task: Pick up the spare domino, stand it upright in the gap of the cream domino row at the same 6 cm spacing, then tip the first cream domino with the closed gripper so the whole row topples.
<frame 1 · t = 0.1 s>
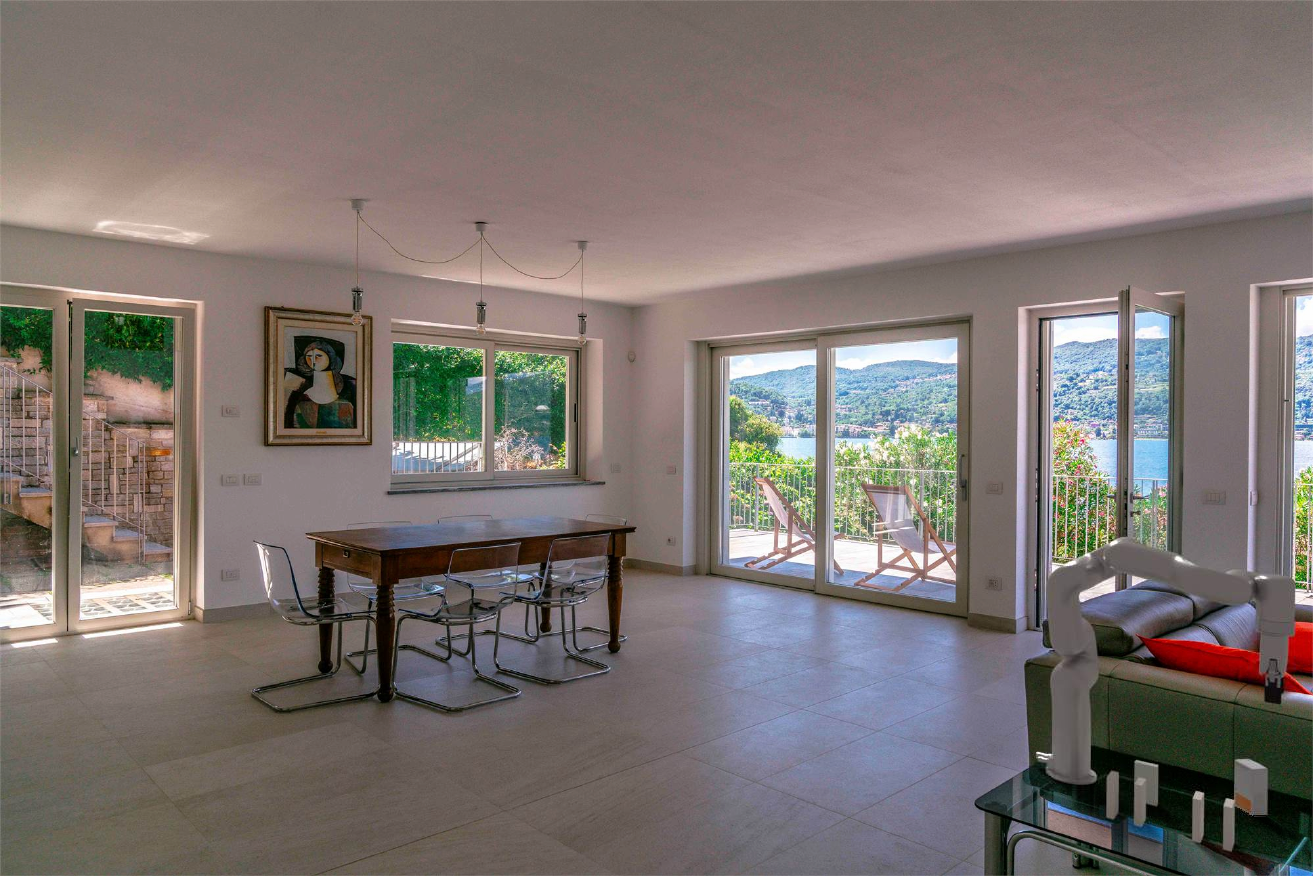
hand: (1274, 697, 202), 31 cm above the table, fingers open, 9 cm apart
domino 1: (1112, 814, 209), on the table
spare domino: (1145, 802, 216), on the table
domino 4: (1197, 837, 198), on the table
skincare box: (1250, 811, 211), on the table
domino 5: (1228, 846, 194), on the table
domino 2: (1139, 822, 205), on the table
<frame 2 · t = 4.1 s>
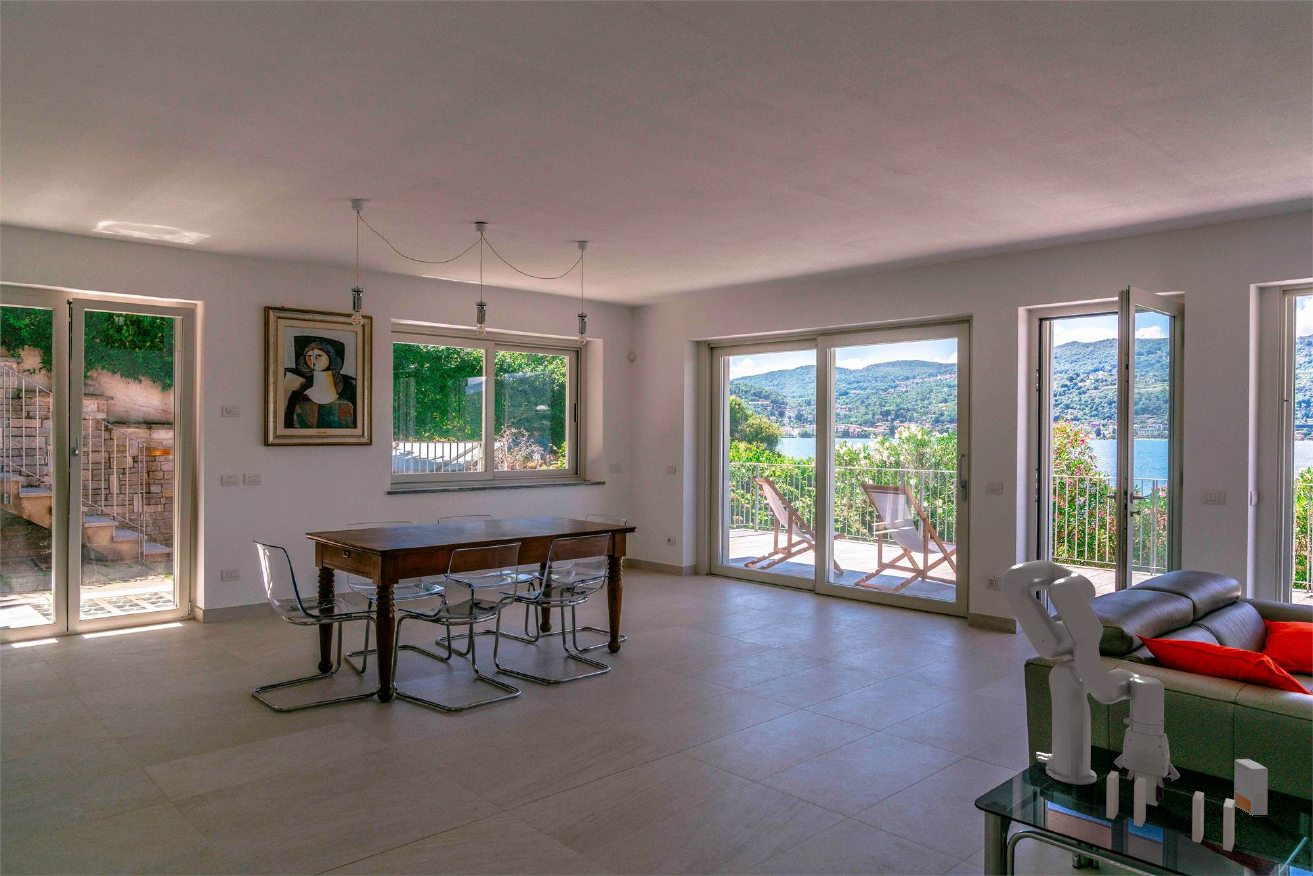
hand: (1146, 796, 216), 1 cm above the table, fingers closed on spare domino, 4 cm apart
spare domino: (1146, 802, 216), on the table, touching gripper
everything else where it was.
when the fingers open (2 cm above the table, at t = 10.8 s): spare domino stays where it is, on the table.
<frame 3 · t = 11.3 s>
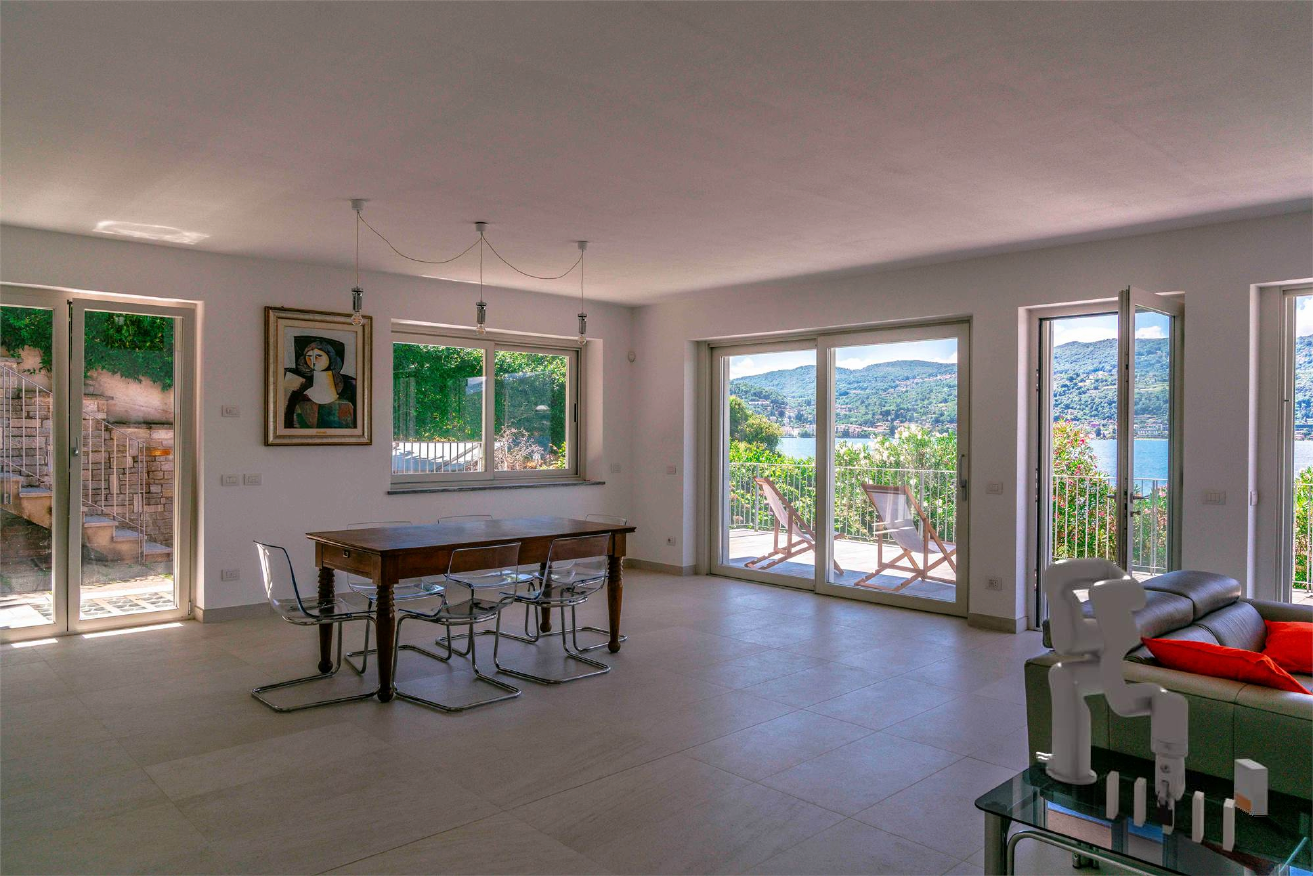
hand: (1168, 816, 201), 3 cm above the table, fingers open, 9 cm apart
spare domino: (1168, 829, 201), on the table
everything else where it was.
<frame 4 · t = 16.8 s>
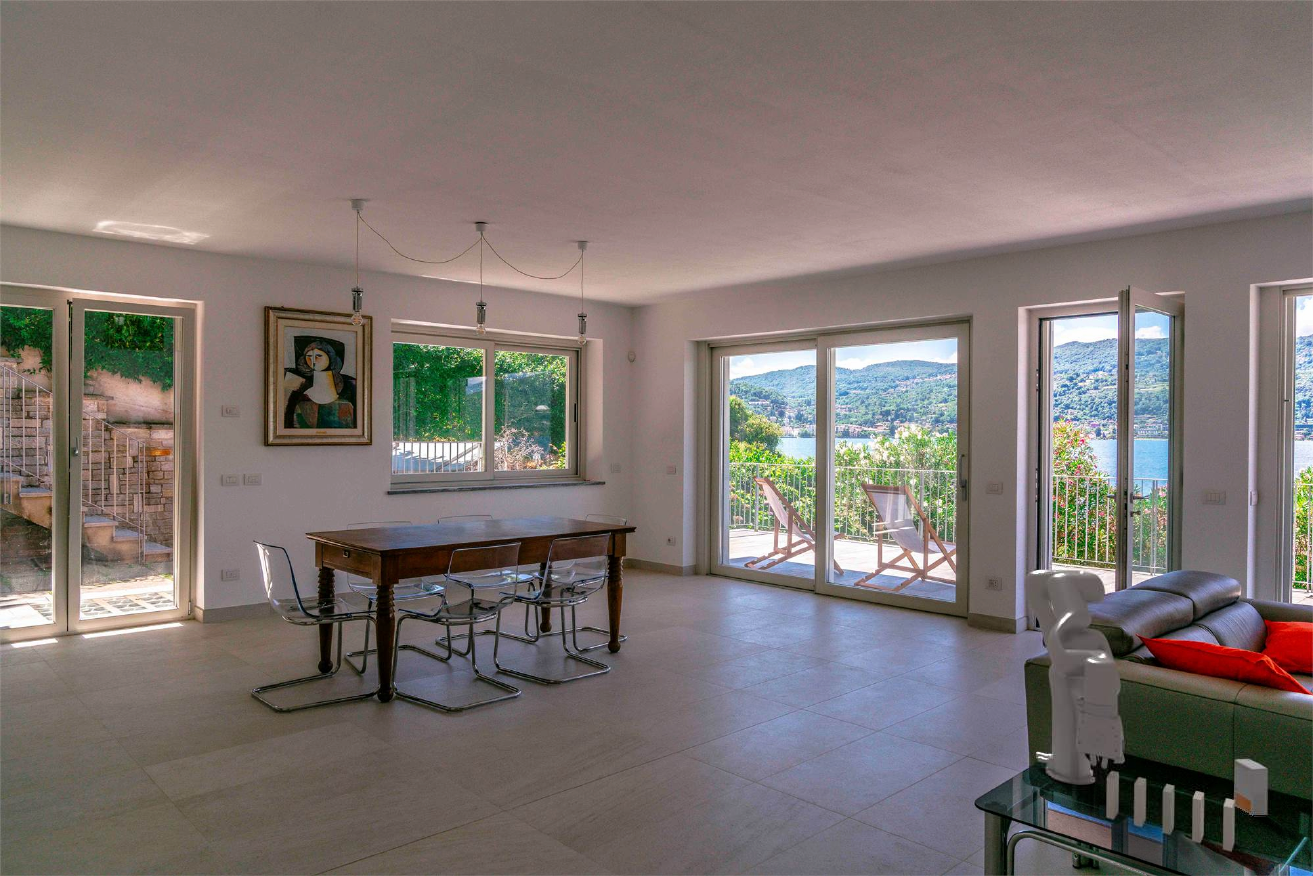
hand: (1100, 781, 211), 8 cm above the table, fingers closed
domino 1: (1112, 814, 209), on the table, touching gripper
everything else where it was.
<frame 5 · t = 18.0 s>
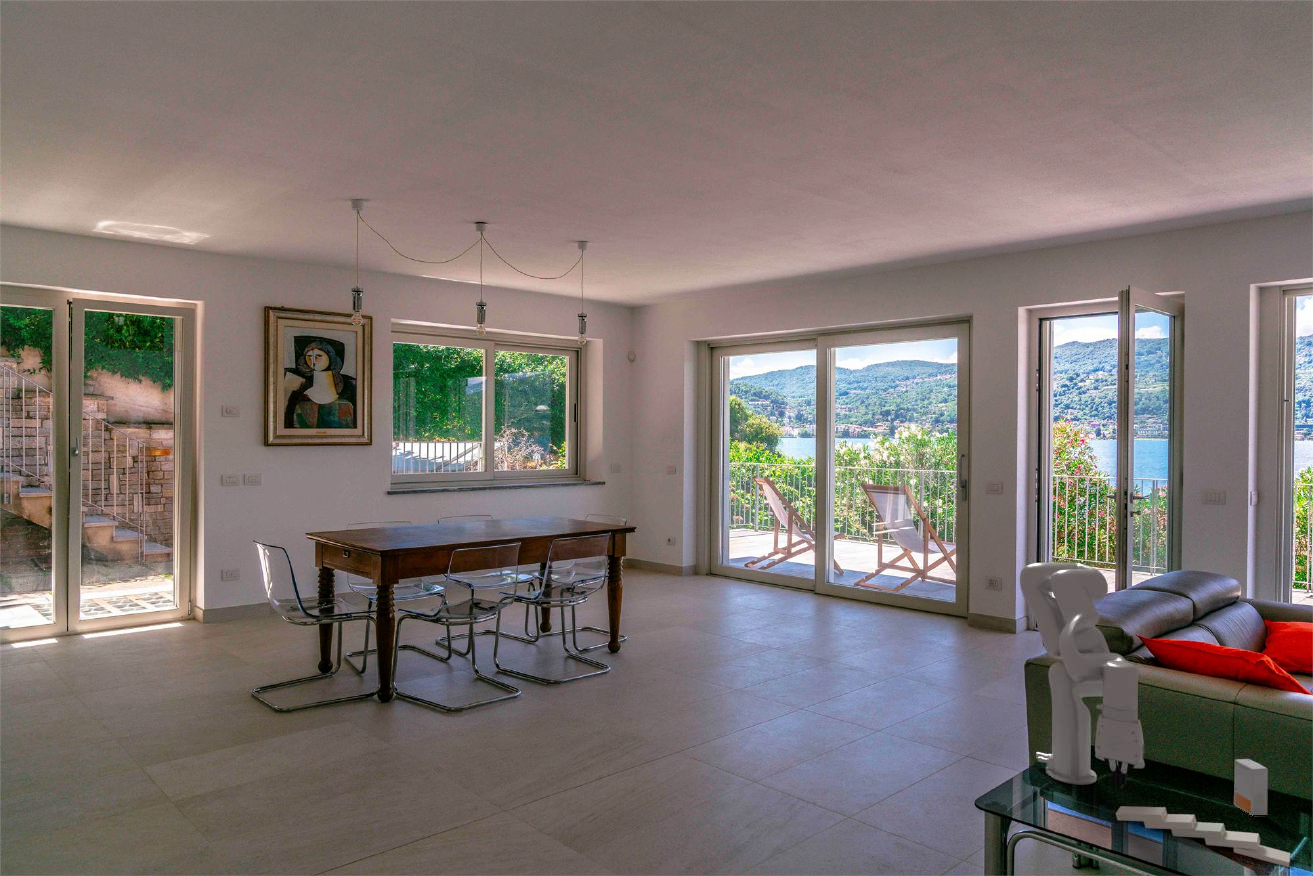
hand: (1119, 786, 208), 8 cm above the table, fingers closed
domino 1: (1119, 813, 208), point 1 cm above the table, tilted 74°
spare domino: (1174, 828, 201), point 1 cm above the table, tilted 75°, touching domino 2, domino 4
domino 4: (1206, 837, 196), point 1 cm above the table, tilted 78°, touching domino 5, spare domino
domino 5: (1235, 846, 193), on the table, tilted 90°, touching domino 4
domino 2: (1146, 820, 204), point 1 cm above the table, tilted 74°, touching spare domino
everything else where it was.
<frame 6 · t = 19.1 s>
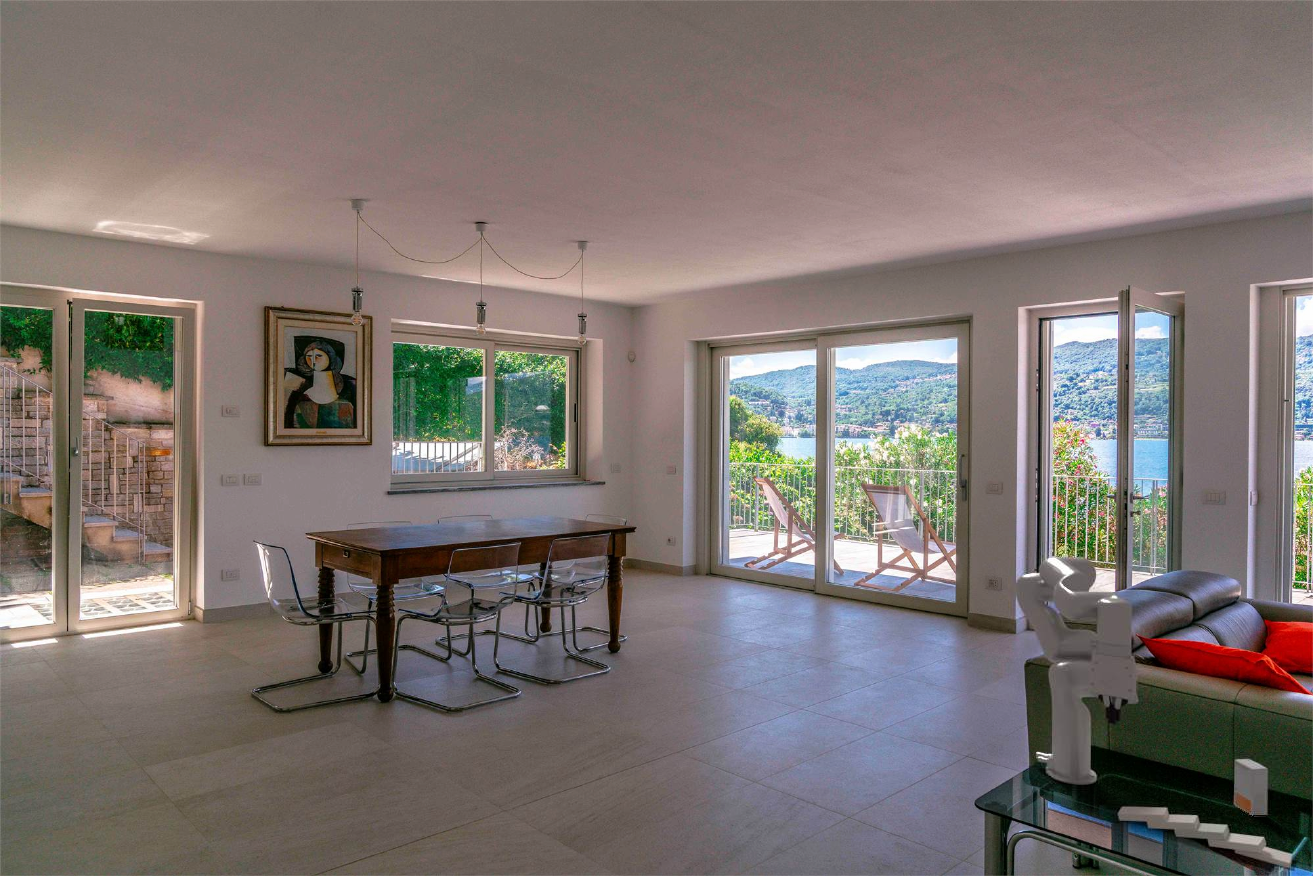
hand: (1113, 722, 209), 23 cm above the table, fingers closed
domino 1: (1120, 813, 208), point 1 cm above the table, tilted 75°, touching domino 2
spare domino: (1177, 829, 200), point 1 cm above the table, tilted 76°, touching domino 2
domino 4: (1211, 838, 195), point 1 cm above the table, tilted 77°, touching domino 5
domino 2: (1149, 821, 204), point 1 cm above the table, tilted 75°, touching domino 1, spare domino
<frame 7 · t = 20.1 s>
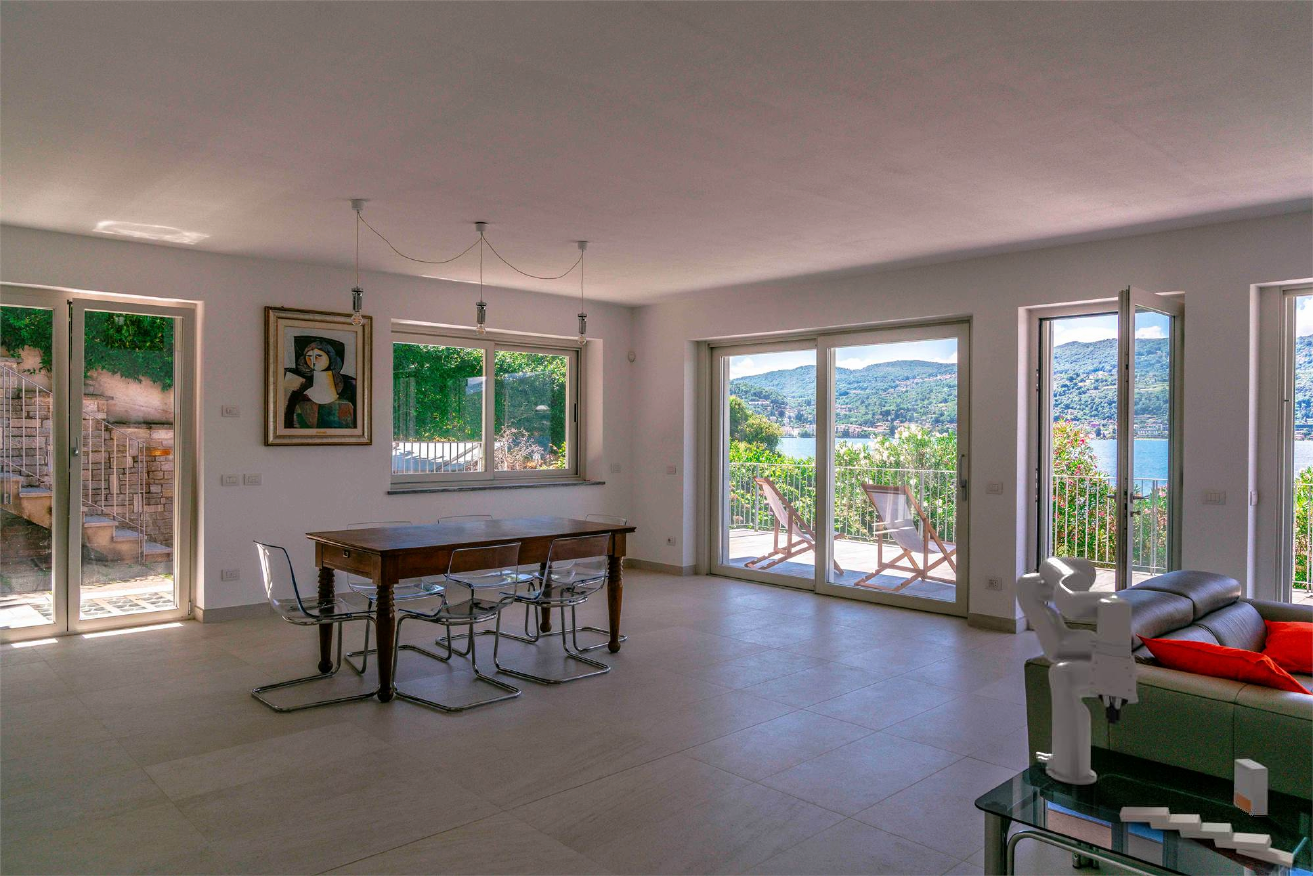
hand: (1113, 722, 209), 23 cm above the table, fingers closed
spare domino: (1181, 829, 200), point 1 cm above the table, tilted 76°, touching domino 2, domino 4
domino 4: (1217, 839, 195), point 1 cm above the table, tilted 75°, touching domino 5, spare domino
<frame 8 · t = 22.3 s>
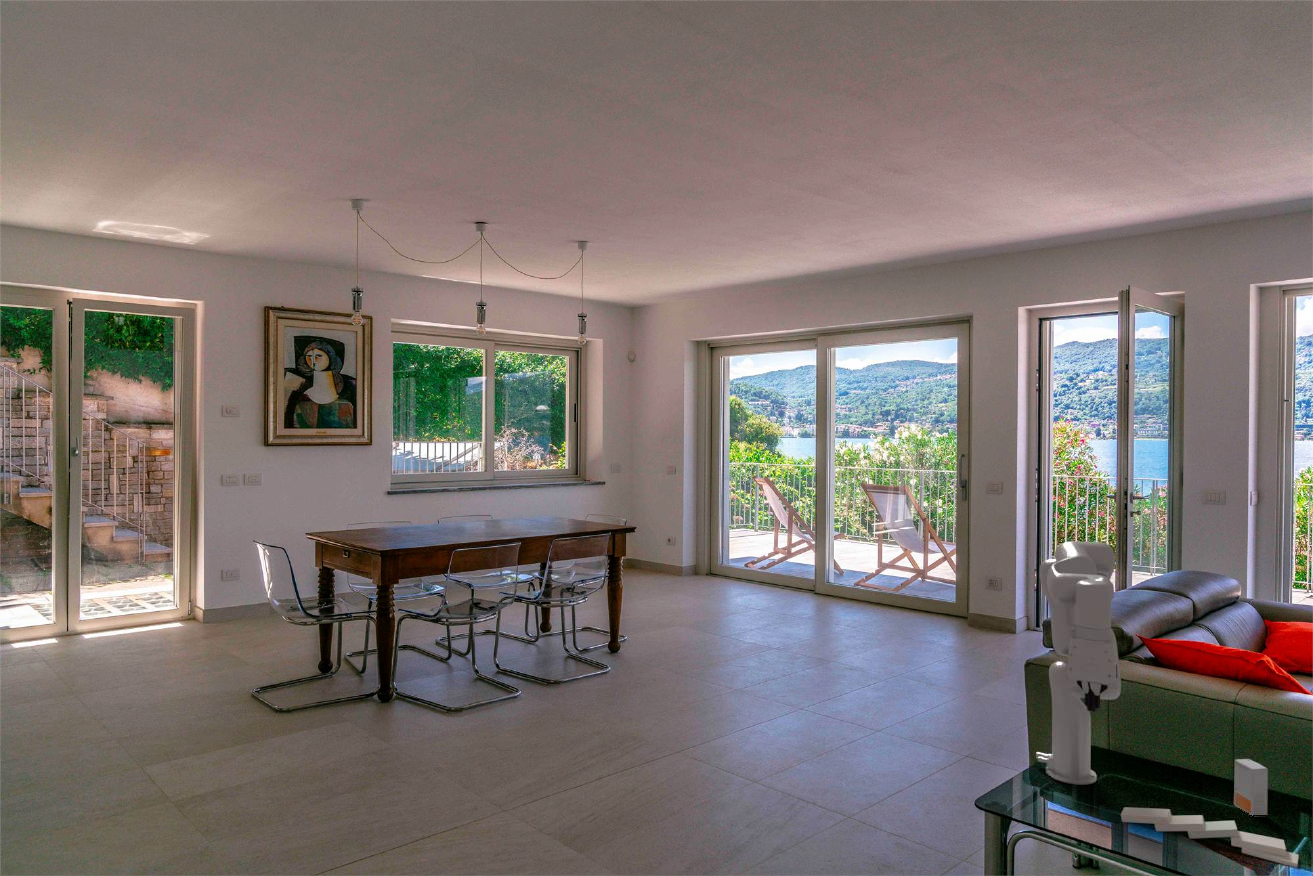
hand: (1092, 709, 201), 29 cm above the table, fingers closed
spare domino: (1187, 830, 199), point 1 cm above the table, tilted 74°, touching domino 2, domino 4
domino 4: (1230, 837, 195), point 2 cm above the table, tilted 89°, touching domino 5, spare domino
domino 5: (1242, 848, 193), on the table, tilted 90°, touching domino 4
domino 2: (1155, 823, 203), point 1 cm above the table, tilted 75°, touching domino 1, spare domino
everything else where it was.
at the end: domino 5 tilted 90°; spare domino tilted 74°; spare domino inside the target area (1.9 cm from its centre), point 0.8 cm above the table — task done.
